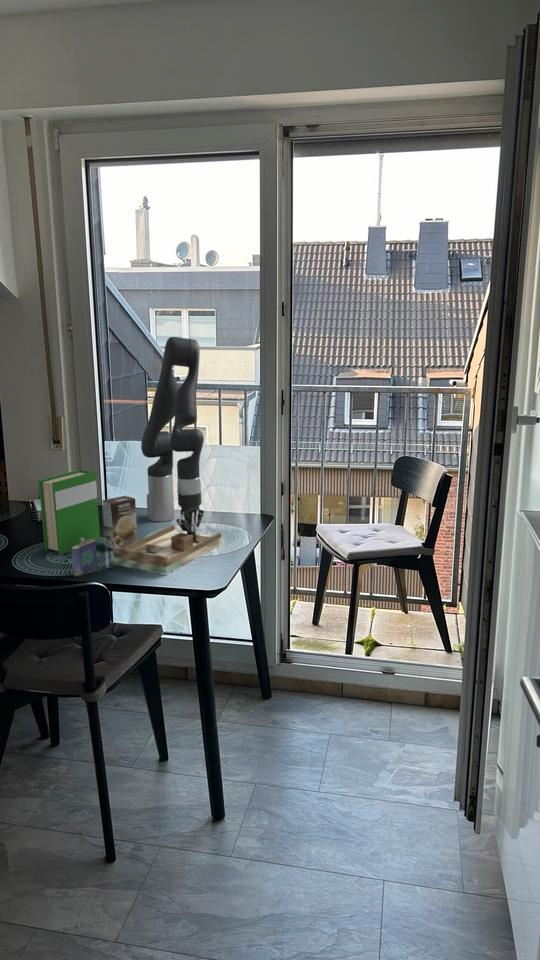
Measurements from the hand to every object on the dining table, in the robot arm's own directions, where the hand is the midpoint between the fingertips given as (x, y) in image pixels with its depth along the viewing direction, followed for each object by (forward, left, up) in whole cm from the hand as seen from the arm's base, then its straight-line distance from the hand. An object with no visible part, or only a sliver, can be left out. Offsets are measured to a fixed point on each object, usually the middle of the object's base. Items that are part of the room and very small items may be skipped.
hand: (191, 541), depth 225 cm
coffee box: (-25, -6, -3) cm, 26 cm away
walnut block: (0, -5, -1) cm, 5 cm away
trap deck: (-5, -6, -3) cm, 8 cm away
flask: (-19, -30, -3) cm, 35 cm away
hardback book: (-40, -13, -3) cm, 42 cm away
